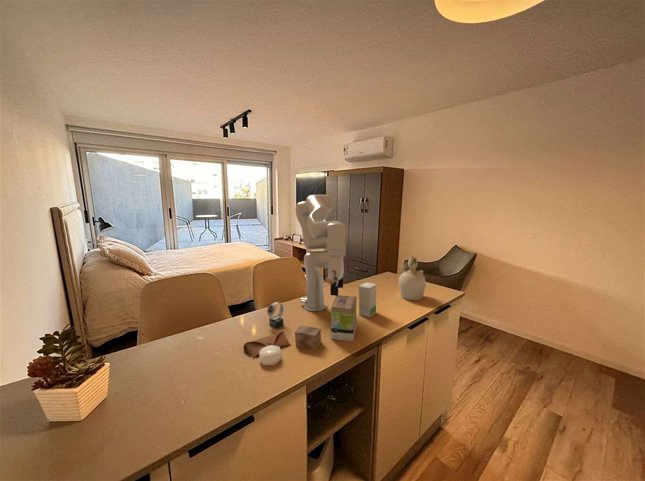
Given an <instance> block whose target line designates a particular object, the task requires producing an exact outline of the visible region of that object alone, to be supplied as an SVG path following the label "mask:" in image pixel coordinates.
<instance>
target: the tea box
mask: <svg viewBox="0 0 645 481" xmlns="http://www.w3.org/2000/svg"><path fill="white" fill-rule="evenodd" d="M357 298H358V297H357V296H354V295H339V294H338V296H335V298H334V300H333V303H332V304H331V309H330V311H331V314H330V315H331V316H330V317H331V318H330V320H331V321H330V339H331V340H339V341H350V342H353V341H354V338H355V334H356V327H357Z"/></svg>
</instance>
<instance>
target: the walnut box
mask: <svg viewBox="0 0 645 481" xmlns="http://www.w3.org/2000/svg"><path fill="white" fill-rule="evenodd" d="M321 334H322V328H321V327H314V326H308V325H301V324H300V326H299V327H298V328H297V329H296V330H295V331H294V339H295V347H300V348H306V349H311V350H317V349H318V347H319V346H320V344H321V343H322V335H321Z"/></svg>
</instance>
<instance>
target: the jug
mask: <svg viewBox="0 0 645 481" xmlns="http://www.w3.org/2000/svg"><path fill="white" fill-rule="evenodd" d="M407 266H408V269H407ZM407 266H406V265H405V266H403V267H401V268H400V270H401V271H402V273H401V274H400V275H399V278H398V287H399V288H398V289H399V292H400V296H401V298H402V299H404V300H407V301H412V302H413V301H414V302H415V301H416V302H418V301H422V299H423V297H424V294H425V290H426V287H427V282H426V278H425V276H424V270H423V269H420V270H416V269H417V267H418V259H417V257H415V256H410V257H409V259H408V262H407Z"/></svg>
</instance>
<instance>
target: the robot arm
mask: <svg viewBox="0 0 645 481" xmlns="http://www.w3.org/2000/svg"><path fill="white" fill-rule="evenodd" d="M334 205H335V202H334V198H333V197H332V196H331V195H330V194H310V195H308V197H306V200H304V201H303V200H302V201H301V202H300V201H299V202H298V203H296V205H295V216H296V219H297V220H298V223H299V226H300V228H301V233H302V239H303V245H304V247H305V249H306V250H308V251H309V252H307V253H305V254H304V255H303V262H304V263H303V264H304V269H305V282H306V286H305V287H306V297H305V298H304V297H301V298H300V303H302V304H304V306H303V307H304V309H305V310H306V311H309V312H321V311H323V310H325V309H327V306H328V305H327V303H326V302H325V297H324V296H325V295H324V289H325V288H324V283H325V282H324V274H323V273H322V272H321V271H320V269H327V268H328V269H327V279H328V281H330V283H329V284H330V285H329V287H330V289H329V290H330V296H335V297H336V296H338V295H339V289H343V288H344V274H345V273H344V272H345V271H344V270H345V267H344V265H345V264H344V257H346V225H345V224H344V222H340V221H339V220H327V219H328V217H329V215H330V214H329V213H331V211H333V209H334ZM314 250H315V251H314Z"/></svg>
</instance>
